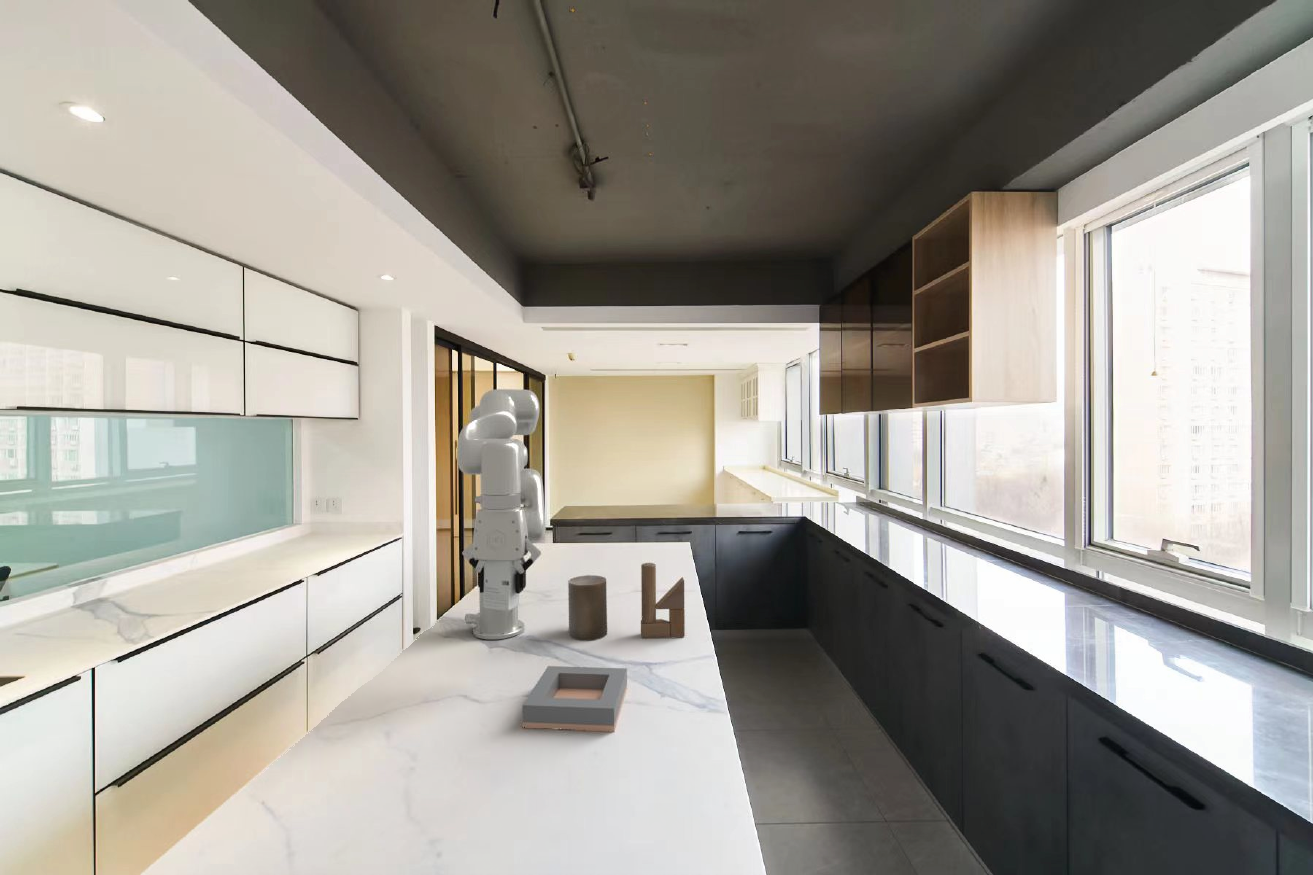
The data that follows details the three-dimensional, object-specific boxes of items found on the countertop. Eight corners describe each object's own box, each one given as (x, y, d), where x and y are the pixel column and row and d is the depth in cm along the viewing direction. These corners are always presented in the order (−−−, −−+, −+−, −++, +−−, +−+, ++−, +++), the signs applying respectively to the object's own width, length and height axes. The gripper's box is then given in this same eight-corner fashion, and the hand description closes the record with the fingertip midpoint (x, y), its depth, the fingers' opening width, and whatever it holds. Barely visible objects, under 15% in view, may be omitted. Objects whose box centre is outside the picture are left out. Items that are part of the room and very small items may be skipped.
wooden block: (684, 637, 139) (684, 565, 138) (641, 638, 138) (640, 566, 138) (683, 632, 142) (682, 561, 142) (640, 633, 142) (640, 562, 141)
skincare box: (482, 608, 111) (481, 547, 111) (495, 601, 116) (494, 543, 115) (509, 611, 110) (509, 549, 109) (521, 604, 114) (521, 545, 114)
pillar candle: (614, 635, 140) (613, 575, 140) (579, 643, 135) (578, 581, 135) (595, 624, 148) (595, 568, 148) (561, 632, 143) (561, 573, 143)
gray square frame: (522, 727, 97) (522, 704, 97) (548, 685, 113) (548, 665, 113) (614, 731, 96) (614, 708, 96) (627, 688, 112) (626, 668, 112)
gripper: (450, 504, 109) (452, 595, 110) (538, 505, 108) (538, 597, 108) (467, 499, 117) (468, 584, 117) (548, 500, 115) (549, 586, 116)
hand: (502, 590), depth 113 cm, fingers closed on skincare box, 6 cm apart
